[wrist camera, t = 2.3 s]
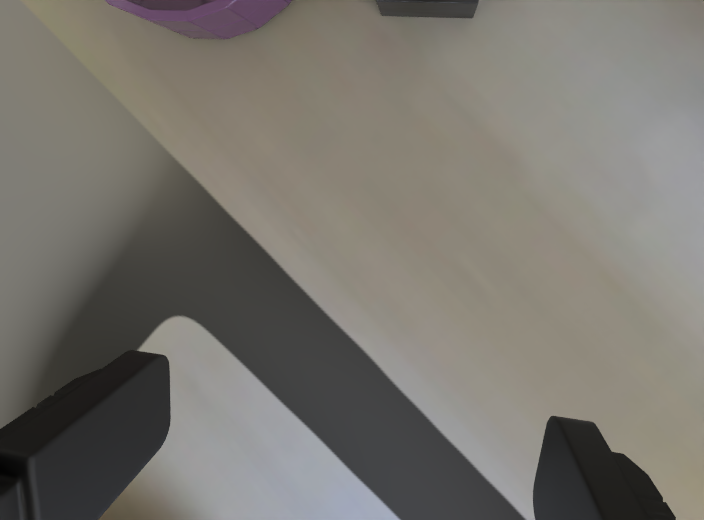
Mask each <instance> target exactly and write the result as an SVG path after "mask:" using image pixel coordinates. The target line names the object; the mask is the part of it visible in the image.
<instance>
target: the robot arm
mask: <svg viewBox="0 0 704 520" xmlns="http://www.w3.org/2000/svg"><path fill="white" fill-rule="evenodd" d="M169 426H170V371H169V361H168V359H167V357H166V356H164V355H160V354H154V353H147V352H141V351H134V350H130V351H127V352H125V353H124V354H122V355H121V356H120V357H118V358H117V359H115V360H114V361H113V362H111V363H110V364H108V365H107V366H105V367H104V368H102V369H99V370H96V371H94V372H91V373H89V374H86V375H84V376H81V377H79V378H76V379H74V380H73V381H71V382H70V383H68V384H67V385H65V386H64V387H62V388H61V389H60V390H58V391H56V392H55V394H54V396H49V397H48V398H46V399H44V400H43V401H41V402H40V403H38V404H37V407H36V408H34V407H32V408H31V409H30V410H28V411H27V412H25V413H24V414H22V415H21V416H19V417H18V418H17V419H15V420H13V421H12V422H10V423H9V424H7V425H6V426H4V427H3V428H1V429H0V520H98V519H99V518H100V517H101V515H102V514H103V513H104V512H105V511H106V510H107V509H108V507H109V506H110V505H111V504H112V503H113V502H114V501H115V499H116V498H117V497H118V496H119V495H120V494H121V493H122V491H123V490H124V489H125V488H126V487H127V486H128V485H129V483H130V482H131V481H132V480H133V479H134V478H135V477H136V475H137V474H138V473H139V472H140V471H141V470H142V469H143V467H144V466H145V465H146V464H147V463H148V462H149V461H150V459H151V458H152V457H153V456H154V455H155V454H156V453H157V451H158V450H159V449H160V448H161V446H162V445H163V443H164V441H165V439H166V437H167V434H168V431H169ZM533 507H534V515H535V520H676V517H675V516H674V514H673V513H672V511H671V510H670V508H669V506H668V505H667V503H666V502H663V497H662V496H661V494H660V493H659V491H658V490H657V488H656V487H655V485H654V483H653V482H652V480H651V479H650V477H649V476H648V475H647V474H646V473H645V472H644V471H643V470H642V469H641V468H639V467H638V466H637V465H636V464H635V463H634V462H632V461H631V460H630V459H629V458H628V457H627V456H625V455H624V454H621V453H615V452H611V450H610V448H609V446H608V445H607V443H606V441H605V440H604V438H603V436H602V434H601V433H600V431H599V429H598V428H597V426H596V425H595V423H593V422H590V421H583V420H577V419H570V418H564V417H557V416H551V417H550V418H549V420H548V422H547V425H546V430H545V434H544V439H543V444H542V449H541V453H540V458H539V463H538V467H537V472H536V477H535V482H534V489H533Z"/></svg>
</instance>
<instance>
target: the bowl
mask: <svg viewBox="0 0 704 520" xmlns="http://www.w3.org/2000/svg"><path fill="white" fill-rule="evenodd" d="M105 1H106V2H107V3H109V4H110V5H112V6H114V7H117V8H119V9H121V10H124V11H126V12H129V13H131V14H133V15H136V16H138V17H141V18H143V19H145V20H148V21H150V22H153V23H155V24H157V25H160V26H162V27H165V28H167V29H170V30H172V31H174V32H177V33H179V34H182V35H184V36H187V37H189V38H201V39H228V38H231V37H234V36H237V35H240V34H243V33H246V32H249V31H252V30H255V29H258V28H260V27H261V26H263V25H264V24H265V23H266V22H268V21H269V20H270V19H271V18H273V17H274V16H275V15H276V14H278V13H279V12H280V11H282V10H283V9H284V8H285V7H287V6H288V5H289V3H290V2H291V1H292V0H105Z"/></svg>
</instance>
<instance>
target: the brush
mask: <svg viewBox="0 0 704 520" xmlns="http://www.w3.org/2000/svg"><path fill="white" fill-rule="evenodd" d="M376 2H377V5H378V7H379V10H380V13H381V15H382V16H409V17H446V18H473V16H474V13H475V10H476V8H477V5H478V0H376Z"/></svg>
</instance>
